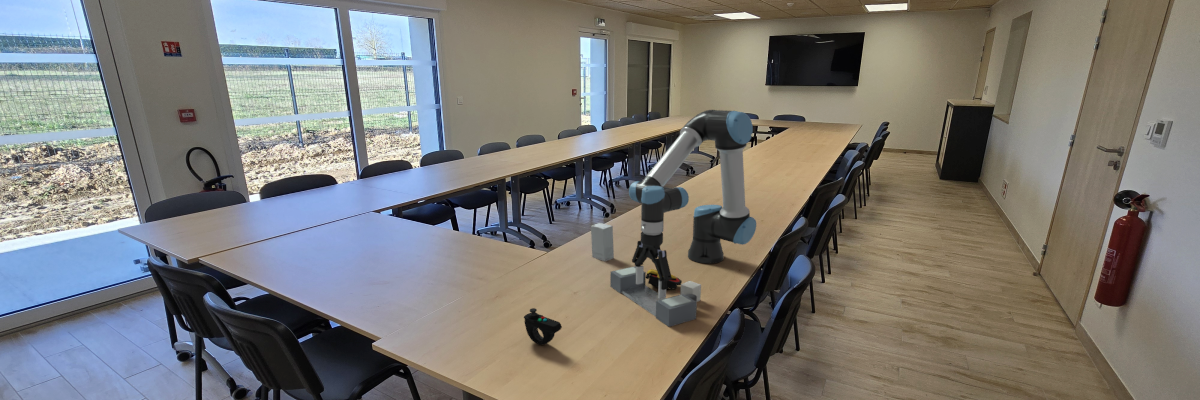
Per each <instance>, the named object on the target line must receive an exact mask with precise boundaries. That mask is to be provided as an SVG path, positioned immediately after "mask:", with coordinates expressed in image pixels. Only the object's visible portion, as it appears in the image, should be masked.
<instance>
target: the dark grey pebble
mask: <svg viewBox="0 0 1200 400" xmlns="http://www.w3.org/2000/svg"><path fill="white" fill-rule="evenodd" d="M686 296H687V297H689V298H691V299H693V300H694V301H696V302H697V296H696V295H694V294H686ZM697 303H698V302H697Z"/></svg>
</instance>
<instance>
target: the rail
mask: <svg viewBox="0 0 1200 400" xmlns="http://www.w3.org/2000/svg"><path fill="white" fill-rule="evenodd" d="M620 294H621V295H624V296H625V297H626V298H628V299H629V300H631V301H632V302H634V303H635V304H637V306H639V307H641V308H642V309H644V310H645V311H647V312H648V313H650V314H651V315H652V316H654V317H655V318H656V301H658V300H662V299H666V297H665V298H661V299H659V298H658V291H655V290H654V289H652V288H651V287H649V286H647V285H646V284H645V285H640V286H636V287H632V288H628V289H624V290H621V293H620Z"/></svg>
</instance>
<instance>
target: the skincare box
mask: <svg viewBox="0 0 1200 400" xmlns="http://www.w3.org/2000/svg"><path fill="white" fill-rule="evenodd" d="M590 235H591V236H590V237H591V238H590V239H591V256H592V257H591V258H593V259H597V260H600V261H601V262H602V261H603V262H607V261H610V260H613V259H614V257H615V253H614V252H615V251H614V230H613V225H610V224H607V223H602V222H598V223H596V224H592V225H591V226H590Z"/></svg>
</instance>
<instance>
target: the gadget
mask: <svg viewBox="0 0 1200 400" xmlns="http://www.w3.org/2000/svg"><path fill="white" fill-rule="evenodd" d="M671 277H672V279H671V280H668V281H667V289H669V290H675V289H676V290H677V287H678V286H681V284H683V283H682V282H683V281H682V279H681V278H678V277H676V276H675V275H673V274H671ZM645 280H648V282H647V284H648V285H649V284H650V285H651V286H653V287H656V288H658V286H659V280H660V277H659V274H658V272H657V269H655V268H654V269H653V268H651V269H649V270H647V272H646V278H645Z"/></svg>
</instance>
